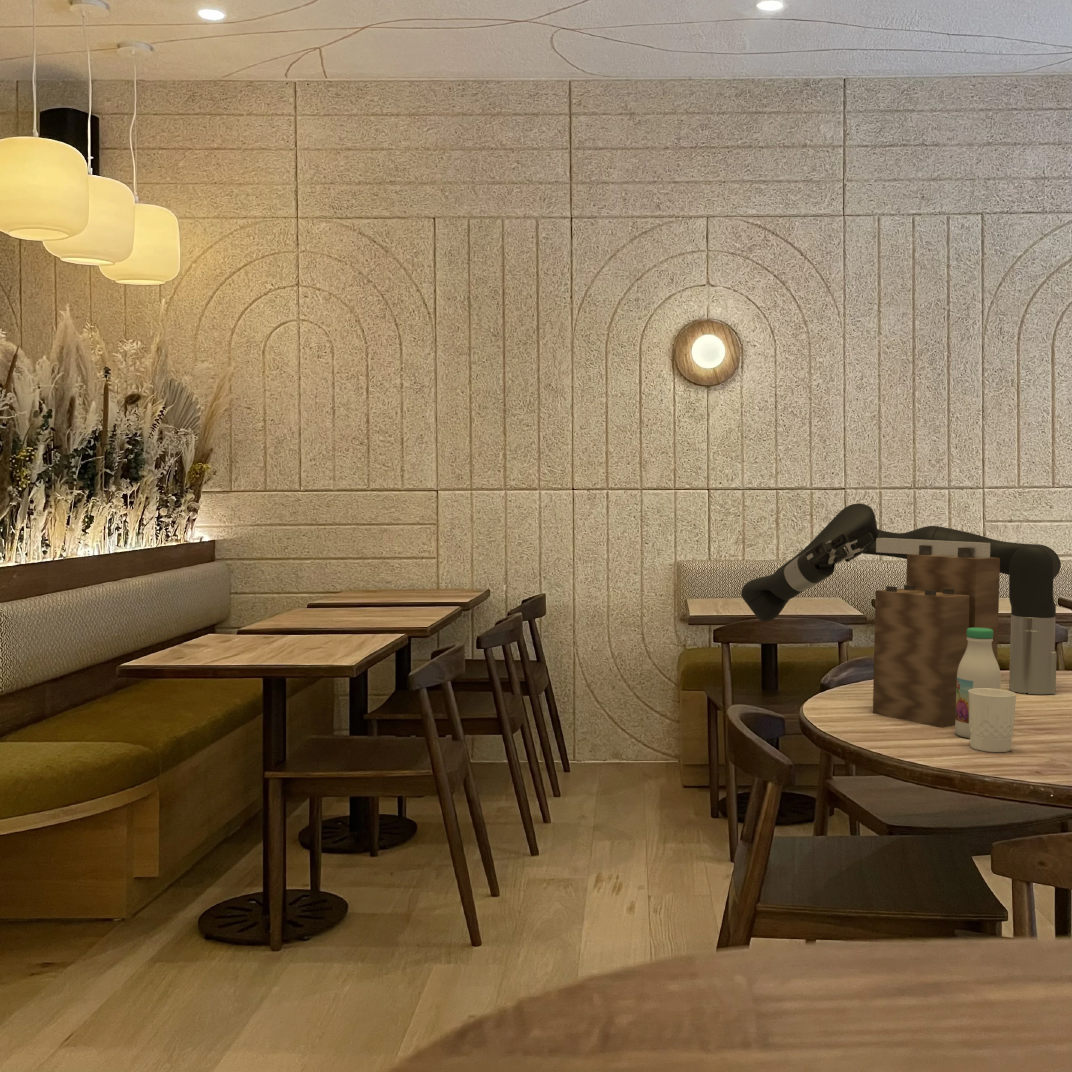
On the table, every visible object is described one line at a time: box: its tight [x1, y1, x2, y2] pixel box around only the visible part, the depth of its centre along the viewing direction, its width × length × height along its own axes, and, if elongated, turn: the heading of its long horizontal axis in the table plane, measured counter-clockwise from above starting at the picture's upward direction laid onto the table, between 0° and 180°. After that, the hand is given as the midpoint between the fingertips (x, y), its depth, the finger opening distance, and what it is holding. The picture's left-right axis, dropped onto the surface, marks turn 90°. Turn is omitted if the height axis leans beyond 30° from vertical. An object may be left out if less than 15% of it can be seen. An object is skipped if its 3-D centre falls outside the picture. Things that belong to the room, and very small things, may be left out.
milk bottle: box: [954, 628, 1002, 739], centre depth 211 cm, size 8×8×20 cm
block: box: [876, 538, 990, 558], centre depth 236 cm, size 24×3×3 cm, turn 40°
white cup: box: [968, 688, 1017, 753], centre depth 202 cm, size 8×8×10 cm
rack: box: [872, 545, 1001, 728], centre depth 230 cm, size 16×18×34 cm
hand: (859, 536), depth 251 cm, fingers open, 8 cm apart
